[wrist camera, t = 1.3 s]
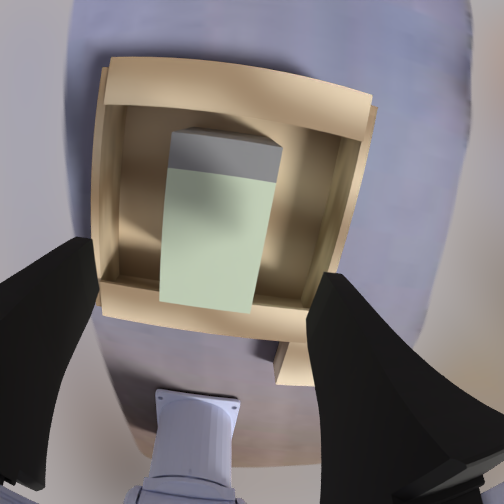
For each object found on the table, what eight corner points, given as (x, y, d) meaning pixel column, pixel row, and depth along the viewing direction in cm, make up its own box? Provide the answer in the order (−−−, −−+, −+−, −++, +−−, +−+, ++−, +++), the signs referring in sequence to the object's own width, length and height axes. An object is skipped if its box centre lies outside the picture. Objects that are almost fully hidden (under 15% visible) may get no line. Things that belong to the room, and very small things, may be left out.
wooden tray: (302, 306, 23) (313, 343, 19) (116, 281, 22) (95, 313, 18) (353, 100, 17) (381, 98, 13) (129, 67, 16) (102, 57, 12)
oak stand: (338, 366, 26) (345, 386, 24) (273, 363, 26) (275, 384, 23) (361, 312, 24) (372, 331, 22) (289, 305, 23) (294, 326, 21)
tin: (247, 260, 21) (249, 313, 15) (179, 250, 20) (159, 301, 15) (269, 137, 18) (283, 147, 12) (193, 126, 17) (172, 131, 12)
